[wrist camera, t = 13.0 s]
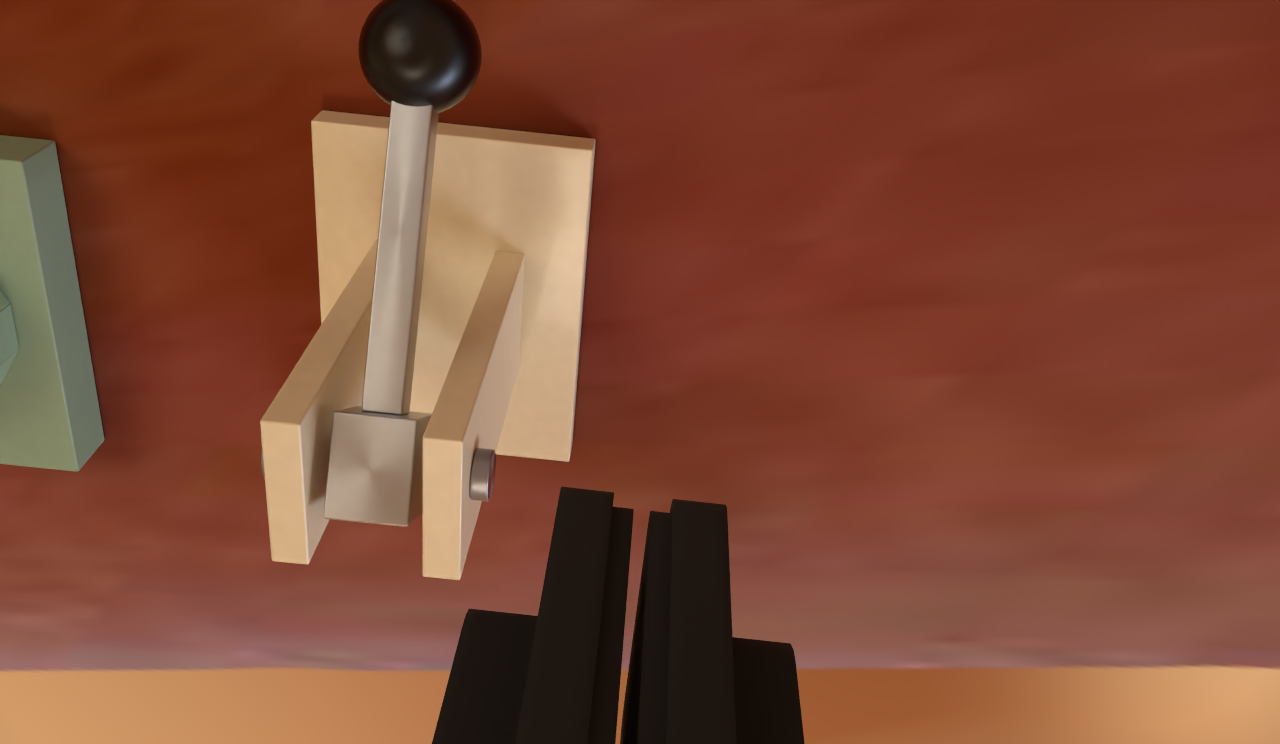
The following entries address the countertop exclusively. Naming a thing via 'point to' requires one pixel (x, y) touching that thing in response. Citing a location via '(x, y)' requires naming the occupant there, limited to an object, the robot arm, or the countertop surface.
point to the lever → (399, 256)
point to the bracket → (441, 322)
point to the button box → (41, 319)
